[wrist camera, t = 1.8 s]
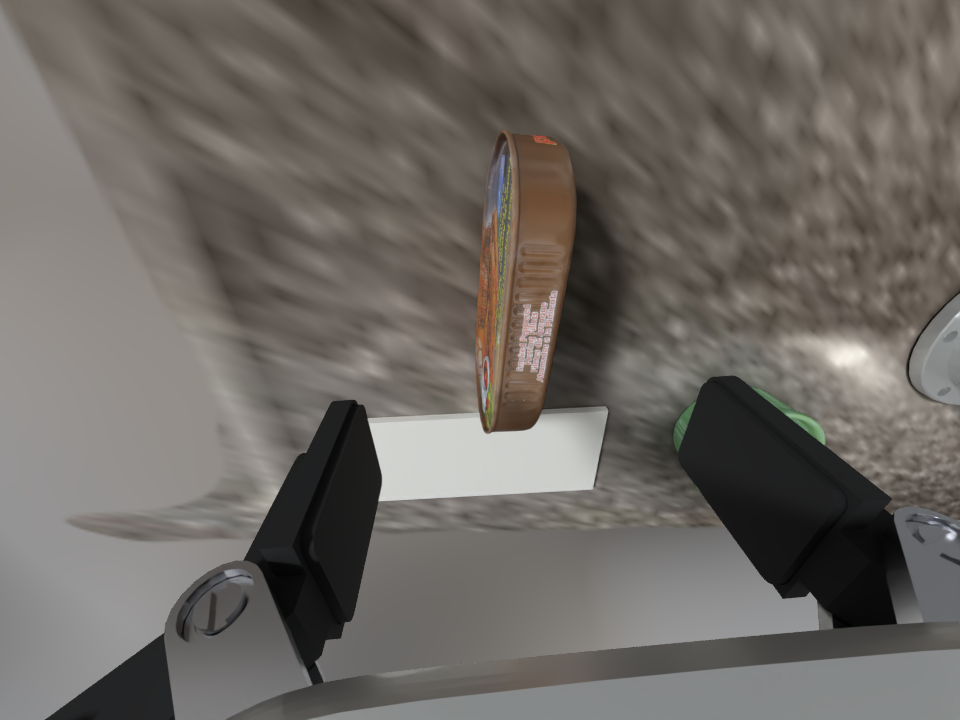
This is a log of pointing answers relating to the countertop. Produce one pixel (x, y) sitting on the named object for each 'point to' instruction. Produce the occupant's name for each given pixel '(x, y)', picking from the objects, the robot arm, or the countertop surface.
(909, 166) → the countertop surface
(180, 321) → the countertop surface
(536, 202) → the tin
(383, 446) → the mat
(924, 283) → the countertop surface
